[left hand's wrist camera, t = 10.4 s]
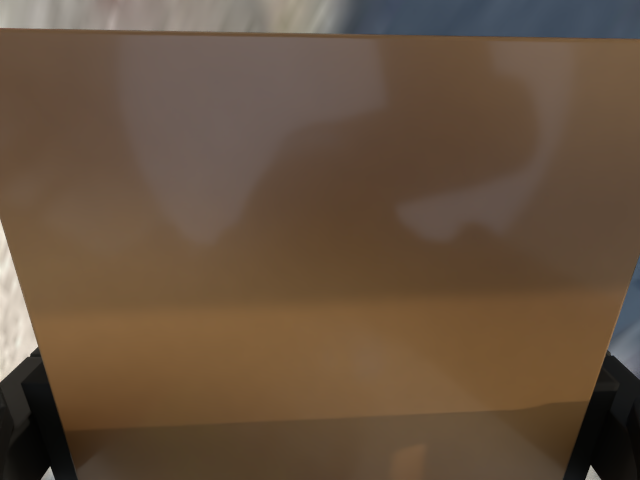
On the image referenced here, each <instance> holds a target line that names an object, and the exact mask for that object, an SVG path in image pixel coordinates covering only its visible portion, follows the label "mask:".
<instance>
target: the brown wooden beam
mask: <svg viewBox="0 0 640 480" xmlns="http://www.w3.org/2000/svg"><path fill="white" fill-rule="evenodd" d="M0 219H1V223H2V226H3V229H4V233H5V236H6V239H7V243H8V246H9V250H10V253H11V256H12V260H13V263H14V266H15V270H16V273H17V276H18V280H19V283H20V287H21V290H22V293H23V297H24V300H25V303H26V307H27V310H28V313H29V317H30V320H31V324H32V327H33V330H34V334H35V337H36V340H37V344H38V347H39V350H40V354H41V357H42V360H43V364H44V367H45V371H46V374H47V377H48V381H49V384H50V387H51V391H52V394H53V397H54V401H55V404H56V408H57V411H58V414H59V418H60V421H61V424H62V428H63V431H64V434H65V438H66V441H67V445H68V448H69V451H70V455H71V458H72V461H73V465H74V468H75V471H76V475H77V478H78V480H563V478H564V475H565V472H566V469H567V466H568V463H569V460H570V457H571V455H572V452H573V449H574V446H575V443H576V440H577V437H578V434H579V431H580V428H581V425H582V422H583V419H584V416H585V413H586V411H587V408H588V405H589V402H590V399H591V396H592V393H593V390H594V387H595V384H596V381H597V378H598V375H599V372H600V369H601V366H602V364H603V361H604V358H605V355H606V352H607V349H608V346H609V343H610V340H611V337H612V334H613V331H614V328H615V325H616V322H617V320H618V317H619V314H620V311H621V308H622V305H623V302H624V299H625V296H626V293H627V290H628V287H629V284H630V281H631V278H632V276H633V273H634V270H635V267H636V264H637V261H638V258H639V255H640V39H613V38H554V37H494V36H435V35H375V34H316V33H256V32H197V31H137V30H78V29H18V28H0Z"/></svg>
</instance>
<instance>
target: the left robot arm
mask: <svg viewBox="0 0 640 480" xmlns="http://www.w3.org/2000/svg"><path fill="white" fill-rule="evenodd" d="M590 465H591V466H592V467H593V469H594V470H595V471H596V473H597V474H598V476H599V477H600V478H601V480H640V380H639V379H638V378H637V377H636V376H635V375H634V374H633V373H632V372H630V371H629V370H628V369H627V368H626V367H625V366H624V365H623V364H622V363H621V362H620V361H619V360H618V359H617V358H615V357H614V356H611V354H610V352H609V351H608V350H607V352H606V355H605V358H604V361H603V364H602V366H601V369H600V372H599V375H598V378H597V381H596V384H595V387H594V390H593V393H592V396H591V399H590V402H589V405H588V408H587V411H586V413H585V416H584V419H583V422H582V425H581V428H580V431H579V434H578V437H577V440H576V443H575V446H574V449H573V452H572V455H571V457H570V460H569V463H568V466H567V469H566V472H565V475H564V478H563V480H585V479H586V476H587V473H588V470H589V468H590ZM49 467H51V469H52V472H53V475H54V478H55V480H78V478H77V475H76V471H75V468H74V465H73V461H72V458H71V455H70V451H69V448H68V445H67V441H66V438H65V434H64V431H63V428H62V424H61V421H60V418H59V414H58V411H57V408H56V404H55V401H54V397H53V394H52V391H51V387H50V384H49V381H48V377H47V374H46V371H45V367H44V364H43V360H42V357H41V354H40V350H39V347H38V348H36V349H35V350H34V351H33V352H32V353H31V354H30V357H27V358H26V359H25V360H24V361H23V362H22V363H21V364H19V365H18V366H17V367H16V368H15V369H14V370H13V371H12V372H11V373H10V374H9V375H8V376H7V377H6V378H5V379H4V380H2V381H1V382H0V480H41V478H42V477H43V475H44V474H45V473H46V471H47V470H48V468H49Z"/></svg>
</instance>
